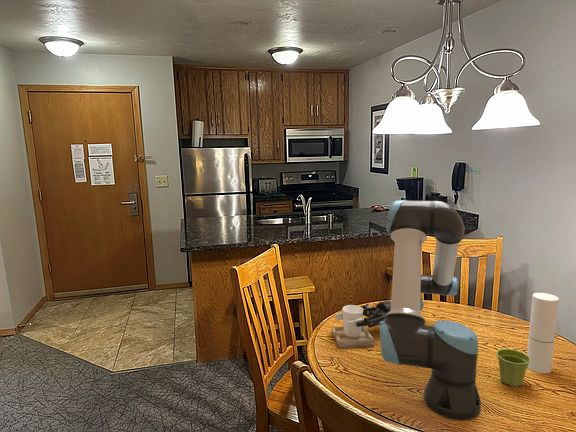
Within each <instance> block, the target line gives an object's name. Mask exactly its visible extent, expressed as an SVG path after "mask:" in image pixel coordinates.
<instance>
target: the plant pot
mask: <svg viewBox="0 0 576 432" xmlns="http://www.w3.org/2000/svg"><path fill="white" fill-rule="evenodd" d="M495 353H496V357H497V360H498V366H499V378H500V381H501V382H502V383H504V384H505V385H506V384H507V385H509V386H510V387H516V388H517V387H521V386H522V385H523V384H524V379H525V377H526V376H525V375H526V371H527V369H528V368H527V366H528V364H529V363H530V362H531V359H530V357H529V356H528V355H527V354H526V353H524V352H522V351H519V350H516V349H511V348H501V349H498V350H497V351H496V352H495Z"/></svg>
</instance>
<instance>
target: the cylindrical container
mask: <svg viewBox="0 0 576 432" xmlns="http://www.w3.org/2000/svg"><path fill="white" fill-rule="evenodd" d="M531 298H532V299H531V307H530V308H531V309H530V319H529V320H530V321H529V331H528V342H527V351H526V353H527V354H526V355H528V356H529V357H530V359H531V362H530V363H529V364H528V366H527V367H528V368H529V369H528V368H527V369H528V370H530V369H531V370H533V371H532V372H534V371H536V372H540V373H549V374H551V373H552V371H551V370H553V369H552V368H553V359H554V350H555V340H556V331H557V322H558V313H559V312H558V311H559V301H560V299H559V297H558V296H556V295H554V294H550V293H546V292H534V293H533V294H532V297H531ZM531 370H530V371H531ZM536 372H535V373H536ZM550 372H551V373H550ZM540 373H539V374H540Z"/></svg>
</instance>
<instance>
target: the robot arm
mask: <svg viewBox="0 0 576 432" xmlns="http://www.w3.org/2000/svg"><path fill="white" fill-rule="evenodd" d="M388 209H389V210H388V214H387V222H386V232H387V234H390V239H391V240H392V241H393V242H394V253H393V268H392V269H393V270H392V284H391V297H390V298H391V299H389V300H384V301H380V302H378V303H377V304H376V306H370V305H369V304H368V303H367V304H363V305H359V306H360V307H362V308H363V319H362V318H361V319H357V320H353V321H348V329H352V328H356V327H360V326H365V327H368V328H369V329H371V328H374V327H377V326H379V337H380V338H379V339H380V351H381V352H380V353H381V356H382V359H383V361H384V362H387V363H391V364H393V365H397V366H402V365H403V366H407V367H408V366H409V367H415V368H420V369H421V368H422V369H430V370H431V375H430V377H429V379H428V381H427V383H426V386H425V388H424V391H423V400H424V403H425V405H426V406H427V407H428V408H429V409H430V410H431V411H432V412H434V413H435V414H437V415H439V416H441V417H444V418H447V419H449V420H450V419H451V420H455V421H469V420H472V419H475V418H477V417H478V416H479V415H480V413H481V408H482V402H481V397H480V395H479V391H478V387H477V383H476V380H477V377H476V376H477V366H478V364H477V362H478V353H479V348H478V346H479V343H478V342H479V338H478V336H477V334H476V332H475V331H473V329H471V328H469V327H468V326H466V325H464V324H462V323H460V322H457V321H451V320H445V319H443V320H437V321H435V322H434V323H433V325H432V326H429V325H428V326H427V325H426V319H425V317H423V315H422V314H421V312H422V311H423V309H424V303H423V299H422V297H421V294H428V295H429V294H430V295H440V296H447V297H448V296H452V297H453V296H454V297H455V296H456V295H457V294H458V285H459V284H458V278H457V277H455V276H454V274H455V270H456V269H455V268H456V263H457V259H458V252H459V245H460V243H461V242H462V241H463V240H464V235H465V225H464V221H463V219H462V217H461V215H460V214H459V212H458V211H457V209H455V208H454V207H453V206H451V205H450V204H448V202H447V203H446V202H444V201H440V200H409V199H408V200H407V199H403V200H394V201H392V202H391V204H390V207H389V208H388ZM428 236H434V239H435V249H434V260H433V270H432V274H422V252H423V251H422V246H423V244H424V243H425V242H426V241H427V239H428ZM334 317H335V322H338V321H343V311H341V312H337V313H335V316H334Z"/></svg>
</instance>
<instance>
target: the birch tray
mask: <svg viewBox="0 0 576 432" xmlns="http://www.w3.org/2000/svg"><path fill="white" fill-rule="evenodd" d="M331 333H332V336H333V338H334V340H335V342H336V345H337V346H338V348H339V350H344V349H358V348H369V347H370V348H371V347H375V339H374V338H373V336H372V335H371V333H370V332H369V330H368V329H367V326H362V329H361V335H360V336H358V337H348V336H346V335H345V334H344V327H343V326H341V325H339V326H331Z"/></svg>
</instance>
